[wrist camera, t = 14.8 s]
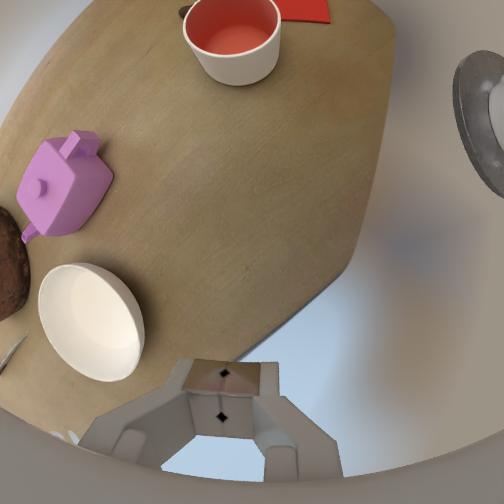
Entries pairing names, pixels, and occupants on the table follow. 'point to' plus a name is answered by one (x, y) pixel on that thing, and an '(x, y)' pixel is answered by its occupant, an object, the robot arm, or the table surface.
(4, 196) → the table surface
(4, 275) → the saucepan
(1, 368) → the kitchen knife
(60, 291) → the bowl
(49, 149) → the teapot
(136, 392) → the table surface
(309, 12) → the spatula
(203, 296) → the table surface
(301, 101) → the table surface
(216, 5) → the cup
